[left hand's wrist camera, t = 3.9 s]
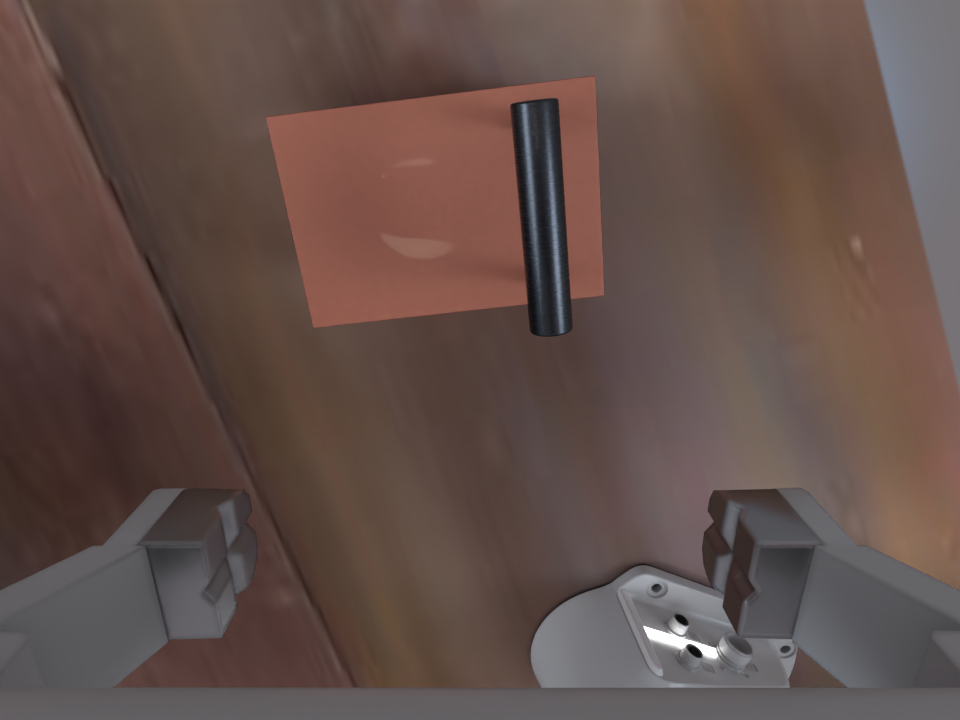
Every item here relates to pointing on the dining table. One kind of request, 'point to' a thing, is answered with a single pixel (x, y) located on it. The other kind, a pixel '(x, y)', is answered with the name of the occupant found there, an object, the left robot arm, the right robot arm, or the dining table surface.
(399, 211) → the lid
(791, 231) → the dining table surface
